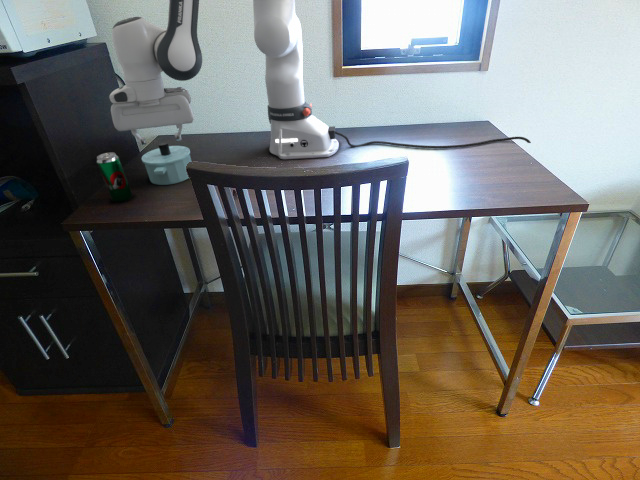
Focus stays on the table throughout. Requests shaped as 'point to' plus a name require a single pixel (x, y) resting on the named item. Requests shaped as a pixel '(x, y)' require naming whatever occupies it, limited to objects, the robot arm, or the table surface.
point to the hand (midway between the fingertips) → (161, 142)
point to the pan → (168, 172)
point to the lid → (165, 154)
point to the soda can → (114, 177)
